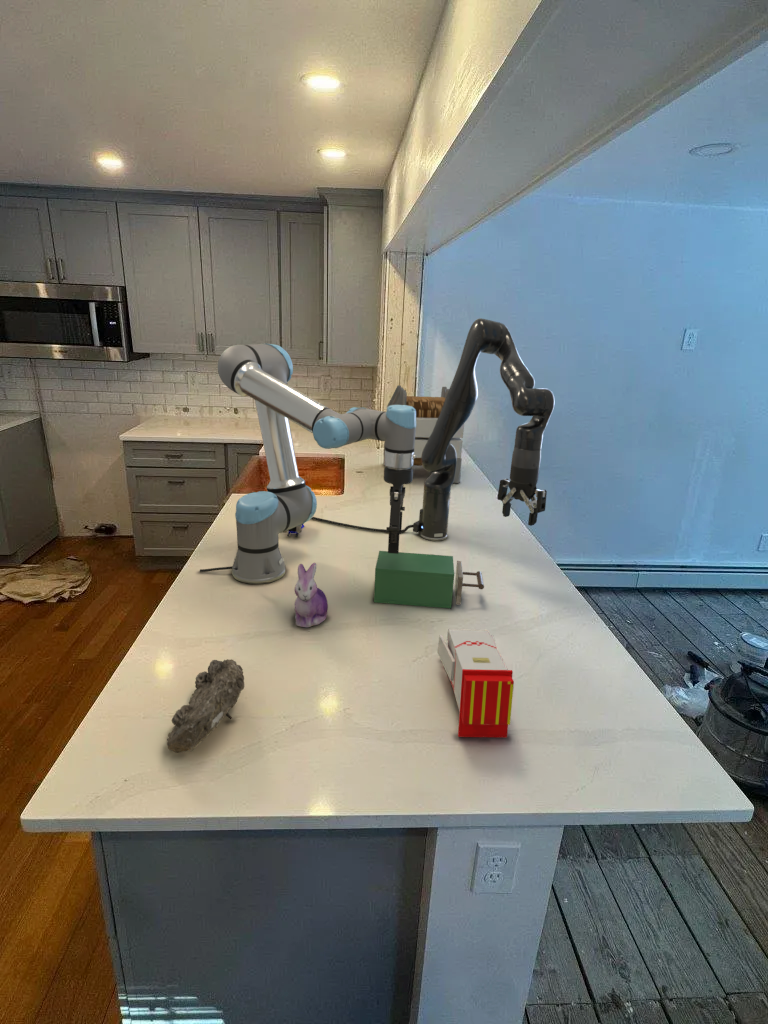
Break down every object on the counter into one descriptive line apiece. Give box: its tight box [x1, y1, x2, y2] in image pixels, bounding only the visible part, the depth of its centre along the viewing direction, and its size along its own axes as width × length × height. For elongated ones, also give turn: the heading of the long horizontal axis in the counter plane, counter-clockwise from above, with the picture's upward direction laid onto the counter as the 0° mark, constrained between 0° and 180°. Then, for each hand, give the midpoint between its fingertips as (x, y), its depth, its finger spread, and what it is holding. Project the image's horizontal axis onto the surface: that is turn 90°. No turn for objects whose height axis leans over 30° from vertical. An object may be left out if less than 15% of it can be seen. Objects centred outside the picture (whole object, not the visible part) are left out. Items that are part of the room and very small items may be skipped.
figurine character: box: [282, 524, 305, 538], centre depth 196 cm, size 7×8×15 cm
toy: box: [437, 628, 515, 738], centre depth 117 cm, size 12×13×30 cm
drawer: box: [454, 560, 485, 606], centre depth 155 cm, size 25×10×8 cm, turn 85°
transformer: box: [383, 384, 465, 484], centre depth 268 cm, size 34×33×41 cm
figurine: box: [293, 562, 329, 628], centre depth 140 cm, size 9×10×15 cm
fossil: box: [166, 658, 245, 754], centre depth 106 cm, size 22×10×15 cm
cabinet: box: [373, 550, 455, 609], centre depth 156 cm, size 21×12×10 cm, turn 85°
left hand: (394, 542), depth 153 cm, fingers open, 13 cm apart
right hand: (518, 520), depth 157 cm, fingers open, 8 cm apart
